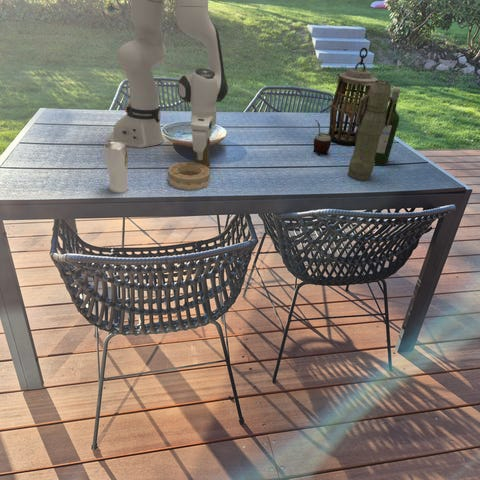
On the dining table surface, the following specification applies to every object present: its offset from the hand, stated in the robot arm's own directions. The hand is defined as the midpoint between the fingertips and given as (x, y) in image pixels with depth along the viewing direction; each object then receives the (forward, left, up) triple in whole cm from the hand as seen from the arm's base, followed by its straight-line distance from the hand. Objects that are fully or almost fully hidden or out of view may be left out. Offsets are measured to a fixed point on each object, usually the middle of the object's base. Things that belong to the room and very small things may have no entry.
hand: (202, 154), depth 161 cm
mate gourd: (+46, +26, -4) cm, 53 cm away
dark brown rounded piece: (0, 0, -4) cm, 4 cm away
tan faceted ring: (-2, -15, -4) cm, 16 cm away
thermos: (+60, +6, -4) cm, 60 cm away
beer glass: (-23, -27, -4) cm, 36 cm away
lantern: (+59, +47, -4) cm, 75 cm away
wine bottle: (+70, +23, -4) cm, 74 cm away
